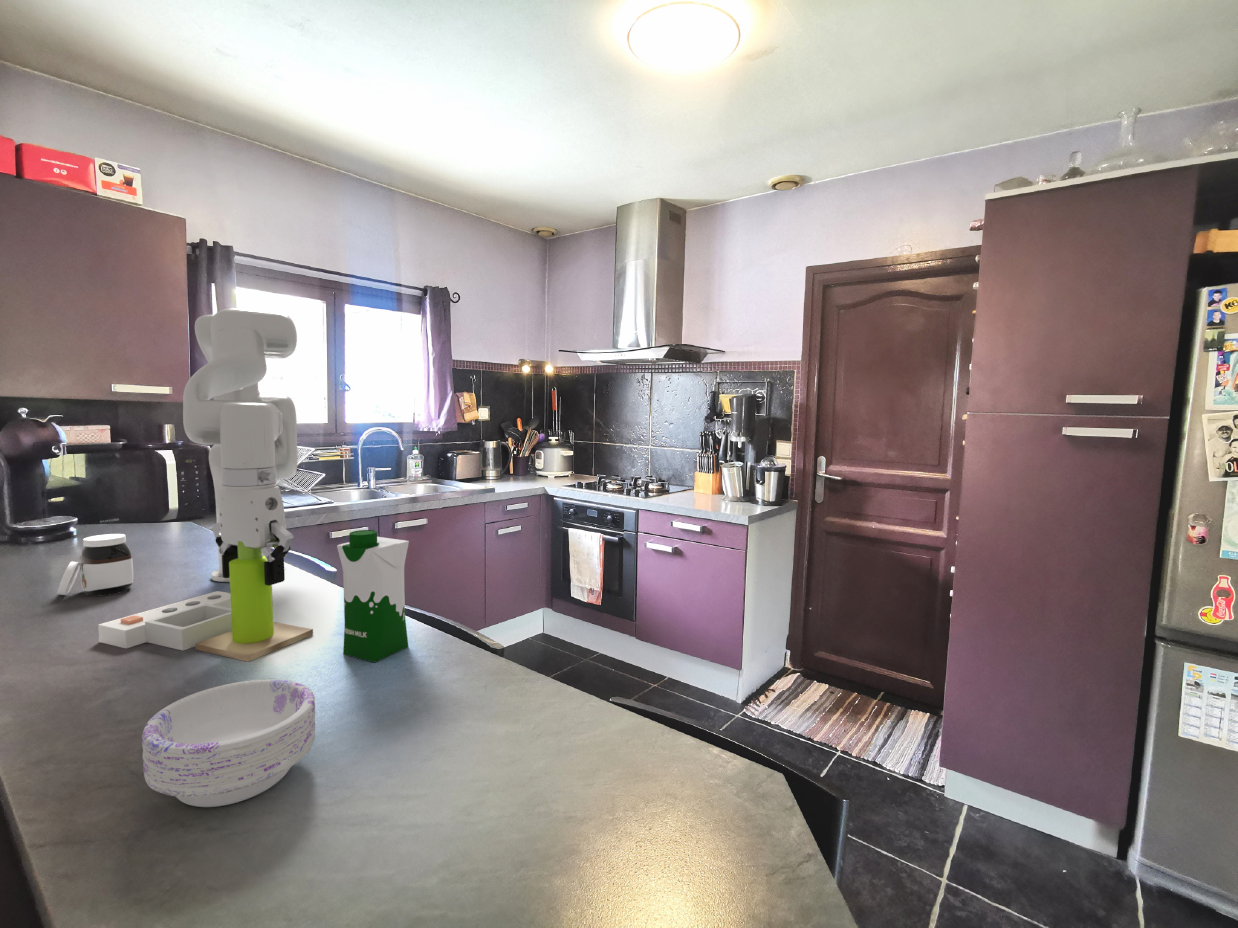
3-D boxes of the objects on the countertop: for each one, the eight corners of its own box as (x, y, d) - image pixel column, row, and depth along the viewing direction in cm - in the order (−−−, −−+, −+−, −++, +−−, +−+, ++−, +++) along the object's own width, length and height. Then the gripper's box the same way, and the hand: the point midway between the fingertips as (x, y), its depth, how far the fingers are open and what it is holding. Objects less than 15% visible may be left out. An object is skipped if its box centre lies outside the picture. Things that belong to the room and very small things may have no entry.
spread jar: (139, 590, 126) (136, 536, 125) (70, 604, 117) (66, 546, 116) (117, 581, 132) (114, 530, 131) (49, 594, 123) (45, 538, 122)
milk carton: (334, 655, 94) (330, 532, 93) (378, 636, 103) (376, 522, 101) (374, 666, 91) (371, 538, 89) (417, 645, 99) (415, 527, 97)
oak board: (263, 624, 107) (263, 619, 107) (313, 634, 103) (312, 629, 103) (195, 649, 96) (195, 643, 96) (248, 661, 92) (247, 655, 92)
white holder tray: (217, 605, 117) (217, 587, 117) (277, 616, 111) (276, 598, 111) (99, 641, 98) (97, 620, 98) (163, 657, 93) (162, 635, 92)
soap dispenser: (285, 628, 103) (281, 515, 101) (257, 644, 96) (252, 523, 94) (253, 627, 103) (249, 514, 101) (223, 642, 96) (218, 521, 95)
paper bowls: (347, 749, 69) (345, 683, 68) (234, 841, 54) (231, 759, 53) (238, 731, 72) (235, 669, 71) (104, 814, 57) (99, 736, 57)
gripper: (308, 478, 98) (311, 580, 99) (234, 472, 104) (238, 567, 105) (266, 484, 91) (270, 593, 92) (190, 477, 97) (195, 579, 98)
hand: (253, 579), depth 99 cm, fingers open, 9 cm apart
